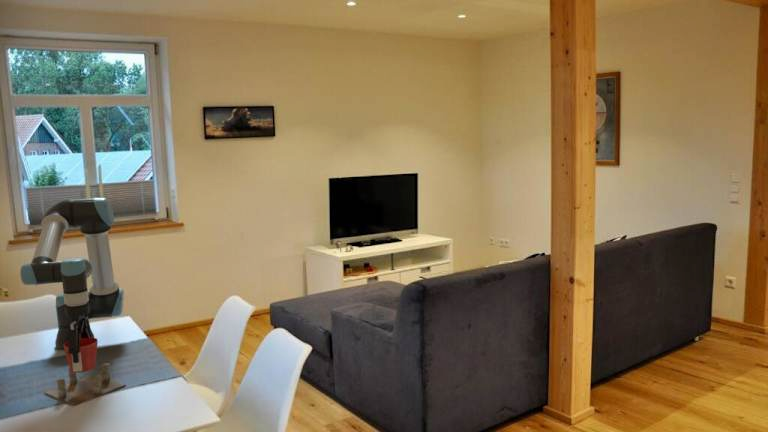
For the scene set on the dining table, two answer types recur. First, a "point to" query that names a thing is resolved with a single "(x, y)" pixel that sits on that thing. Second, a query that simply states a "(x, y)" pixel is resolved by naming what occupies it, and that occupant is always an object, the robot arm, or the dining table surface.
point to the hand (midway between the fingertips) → (82, 365)
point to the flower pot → (84, 354)
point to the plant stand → (84, 387)
